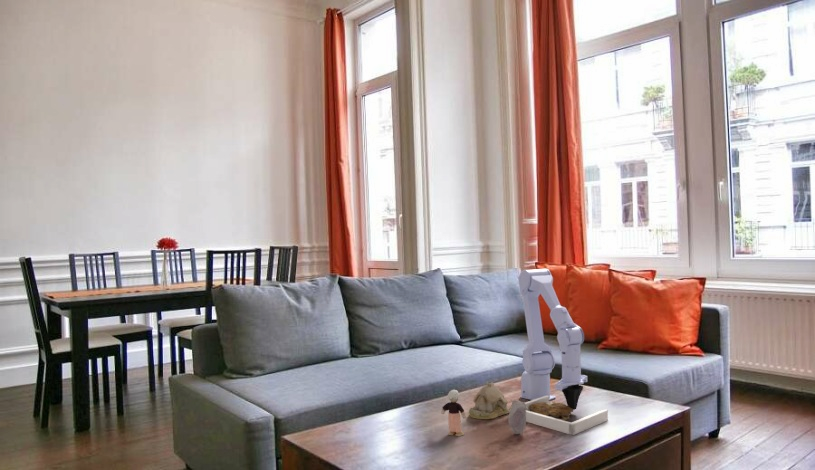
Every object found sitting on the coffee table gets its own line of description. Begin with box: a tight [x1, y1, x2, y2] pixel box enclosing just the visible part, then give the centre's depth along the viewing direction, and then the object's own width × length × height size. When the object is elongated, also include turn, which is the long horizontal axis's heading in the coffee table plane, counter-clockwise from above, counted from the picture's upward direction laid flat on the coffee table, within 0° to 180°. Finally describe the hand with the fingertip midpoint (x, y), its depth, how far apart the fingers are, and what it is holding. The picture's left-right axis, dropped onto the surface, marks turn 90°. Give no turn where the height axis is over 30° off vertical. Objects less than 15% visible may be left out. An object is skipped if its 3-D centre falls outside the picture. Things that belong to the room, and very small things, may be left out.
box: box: [509, 396, 609, 436], centre depth 183 cm, size 22×18×3 cm
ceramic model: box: [468, 381, 510, 420], centre depth 190 cm, size 14×11×10 cm
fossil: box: [507, 399, 527, 435], centre depth 170 cm, size 6×4×10 cm, turn 117°
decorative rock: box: [529, 401, 574, 422], centre depth 185 cm, size 11×4×15 cm
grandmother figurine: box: [440, 389, 467, 437], centre depth 172 cm, size 8×4×13 cm, turn 71°
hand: (572, 408), depth 187 cm, fingers closed
